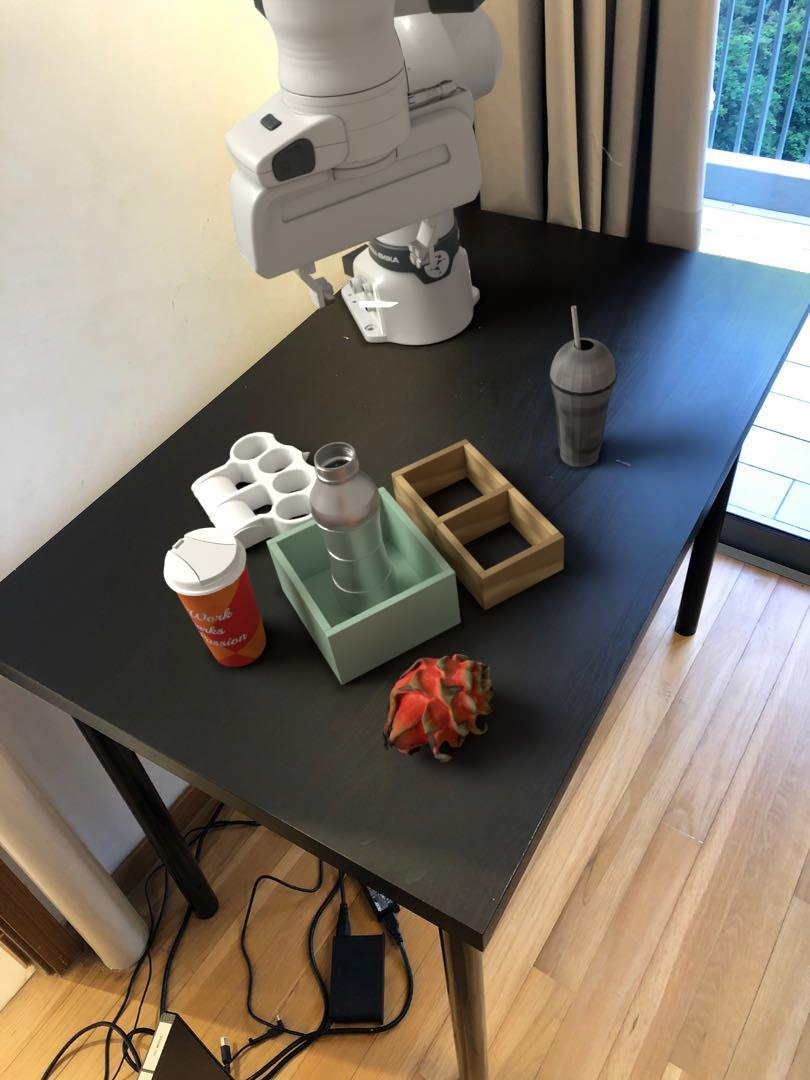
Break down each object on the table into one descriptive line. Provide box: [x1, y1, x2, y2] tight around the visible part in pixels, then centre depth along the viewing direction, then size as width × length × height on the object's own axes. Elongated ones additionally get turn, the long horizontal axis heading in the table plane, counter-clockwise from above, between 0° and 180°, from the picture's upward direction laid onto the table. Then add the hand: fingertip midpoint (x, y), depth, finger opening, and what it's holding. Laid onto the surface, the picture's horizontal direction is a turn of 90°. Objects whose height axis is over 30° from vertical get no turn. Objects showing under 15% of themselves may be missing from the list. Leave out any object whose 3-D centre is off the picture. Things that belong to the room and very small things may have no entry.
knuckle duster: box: [191, 431, 317, 550], centre depth 103 cm, size 3×18×15 cm
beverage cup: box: [548, 305, 618, 468], centre depth 96 cm, size 7×7×20 cm
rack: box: [391, 438, 565, 611], centre depth 95 cm, size 19×10×5 cm, turn 29°
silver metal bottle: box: [309, 441, 397, 615], centre depth 84 cm, size 6×7×20 cm
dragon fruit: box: [382, 653, 495, 764], centre depth 78 cm, size 8×8×12 cm
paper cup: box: [163, 527, 267, 668], centre depth 85 cm, size 8×8×14 cm
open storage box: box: [266, 486, 462, 686], centre depth 88 cm, size 15×14×8 cm
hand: (374, 282), depth 73 cm, fingers open, 8 cm apart
